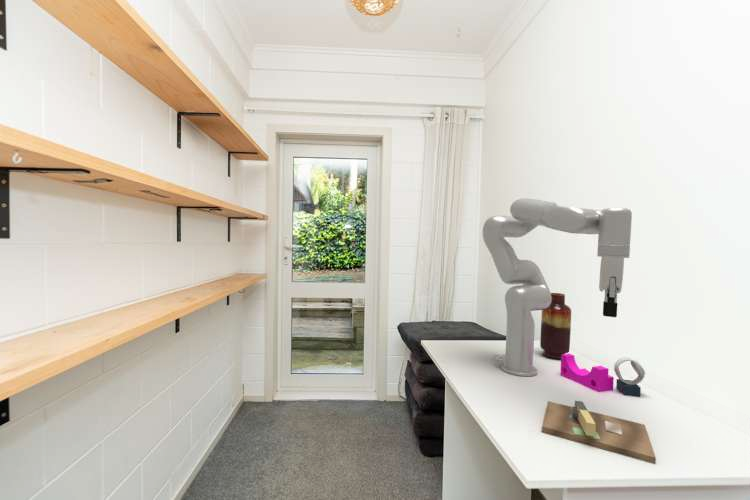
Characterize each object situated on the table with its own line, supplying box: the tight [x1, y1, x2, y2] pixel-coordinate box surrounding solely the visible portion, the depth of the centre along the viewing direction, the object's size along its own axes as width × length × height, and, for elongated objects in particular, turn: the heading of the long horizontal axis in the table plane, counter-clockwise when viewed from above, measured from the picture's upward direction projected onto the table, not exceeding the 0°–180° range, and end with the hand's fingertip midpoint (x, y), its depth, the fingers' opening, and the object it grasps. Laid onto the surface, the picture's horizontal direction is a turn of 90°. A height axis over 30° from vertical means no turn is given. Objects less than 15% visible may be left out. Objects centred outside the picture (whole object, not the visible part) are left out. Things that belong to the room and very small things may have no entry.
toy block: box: [560, 353, 615, 393], centre depth 119 cm, size 15×6×8 cm, turn 18°
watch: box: [613, 357, 646, 398], centre depth 111 cm, size 6×8×11 cm
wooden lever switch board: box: [541, 400, 657, 464], centre depth 86 cm, size 22×16×2 cm
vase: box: [539, 292, 572, 360], centre depth 146 cm, size 11×11×26 cm
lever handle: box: [572, 400, 596, 437], centre depth 85 cm, size 12×4×4 cm, turn 162°
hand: (609, 316), depth 98 cm, fingers closed
